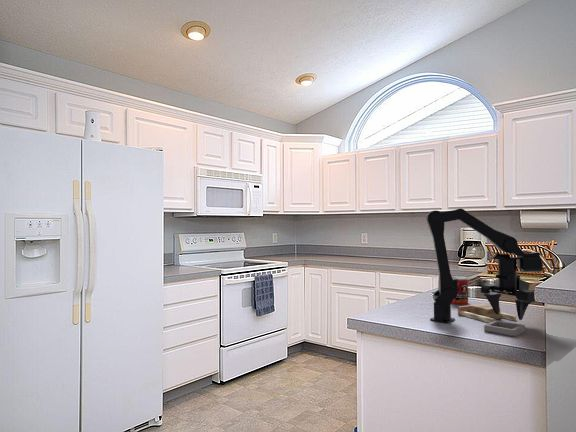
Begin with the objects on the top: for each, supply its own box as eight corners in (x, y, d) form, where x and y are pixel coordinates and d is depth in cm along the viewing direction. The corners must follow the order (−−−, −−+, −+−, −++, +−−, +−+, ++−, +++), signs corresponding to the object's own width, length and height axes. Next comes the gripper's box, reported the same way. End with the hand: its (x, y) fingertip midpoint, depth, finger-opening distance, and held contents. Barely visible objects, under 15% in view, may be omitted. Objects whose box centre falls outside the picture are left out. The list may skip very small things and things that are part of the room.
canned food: (457, 305, 173) (456, 279, 173) (445, 301, 181) (444, 276, 181) (472, 303, 175) (471, 278, 175) (460, 300, 183) (459, 275, 183)
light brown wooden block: (500, 318, 150) (500, 307, 150) (488, 320, 147) (487, 309, 147) (482, 314, 157) (482, 303, 157) (470, 316, 155) (470, 305, 155)
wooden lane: (516, 320, 146) (516, 311, 146) (492, 323, 142) (492, 315, 142) (480, 311, 161) (480, 303, 161) (457, 314, 156) (457, 306, 157)
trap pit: (514, 336, 126) (514, 330, 126) (484, 331, 133) (484, 325, 133) (524, 331, 132) (524, 324, 132) (495, 326, 139) (495, 320, 139)
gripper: (549, 273, 137) (550, 320, 137) (501, 267, 155) (502, 309, 154) (525, 275, 133) (527, 324, 133) (478, 269, 150) (480, 312, 150)
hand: (508, 317), depth 143 cm, fingers open, 9 cm apart
